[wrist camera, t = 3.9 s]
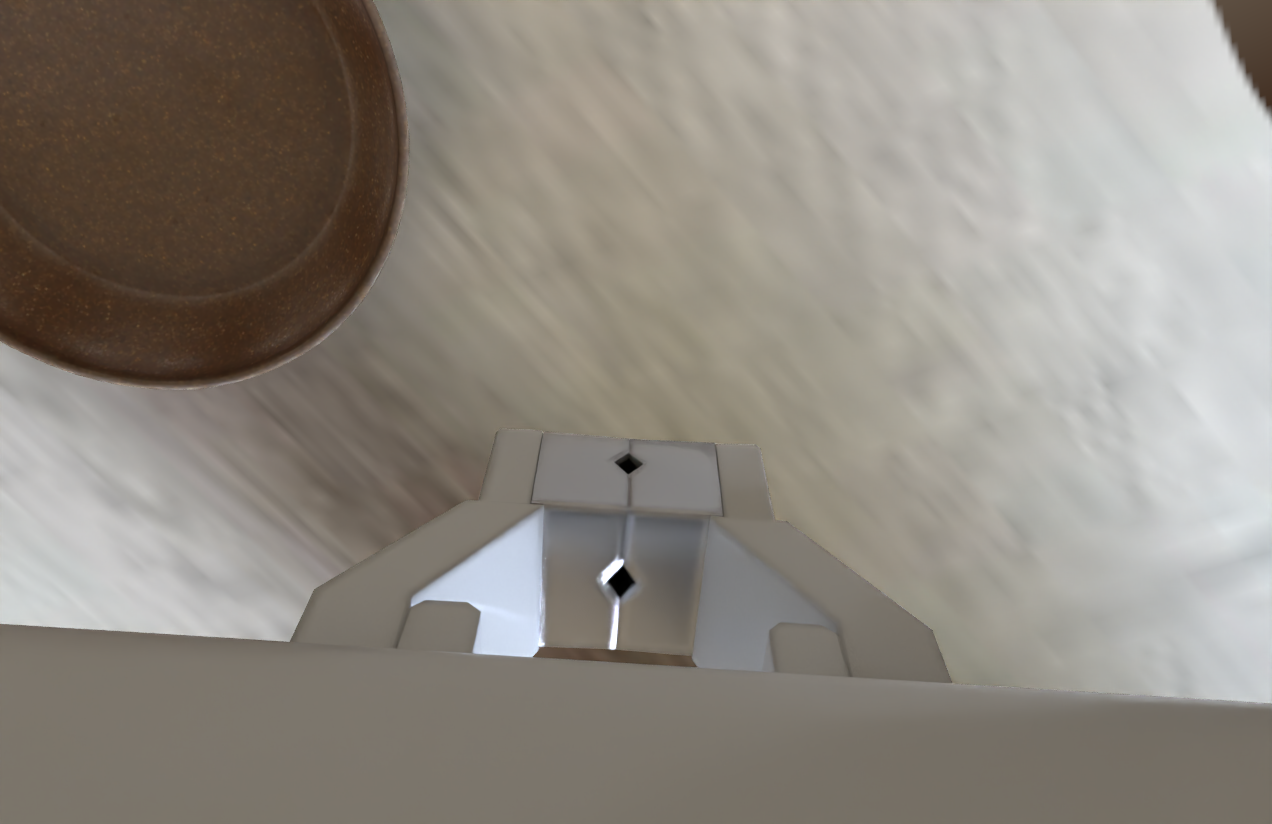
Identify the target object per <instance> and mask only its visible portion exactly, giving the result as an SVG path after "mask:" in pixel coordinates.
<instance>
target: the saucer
mask: <svg viewBox="0 0 1272 824" xmlns="http://www.w3.org/2000/svg"><path fill="white" fill-rule="evenodd" d="M408 172H409V130H408V119H407V109H406V104H405V98H404V93H403V87H402V82H401V78H400V74H399V70H398V67H397V63H396V59H395V56H394V53H393V50H392V46H391V43H390V40H389V38H388V35H387V33H386V30H385V27H384V24H383V22H382V20H381V17H380V15H379V13H378V10H377V8H376V6H375V4H374V2H373V0H0V341H1V342H3V343H5V344H6V345H8V346H10V347H11V348H14V349H16V350H18V351H20V352H22V353H24V354H27V355H29V356H31V357H33V358H35V359H37V360H40V361H42V362H44V363H46V364H49V365H51V366H54V367H57V368H60V369H62V370H65V371H67V372H70V373H73V374H76V375H80V376H83V377H87V378H91V379H95V380H98V381H103V382H108V383H113V384H118V385H125V386H132V387H140V388H149V389H166V390H187V389H204V388H209V387H216V386H221V385H226V384H231V383H236V382H240V381H243V380H246V379H249V378H252V377H255V376H259V375H261V374H264V373H266V372H268V371H271V370H273V369H275V368H277V367H280V366H282V365H284V364H286V363H288V362H290V361H291V360H293V359H295V358H297V357H299V356H300V355H302V354H304V353H306V352H307V351H308V350H310V349H312V348H313V347H315V346H316V345H318V344H319V343H321V342H322V341H323V340H324V339H325V338H327V337H328V336H329V335H330V334H331V333H332V332H333V331H335V330H336V329H337V328H338V327H339V326H340V325H341V324H342V323H343V322H344V321H345V320H346V319H347V318H348V317H349V316H350V315H351V314H352V313H353V311H354V310H355V309H356V308H357V307H358V306H359V305H360V303H361V302H362V301H363V299H364V298H365V296H366V295H367V293H368V292H369V290H370V289H371V287H372V286H373V284H374V282H375V280H376V279H377V277H378V275H379V273H380V271H381V269H382V267H383V265H384V263H385V261H386V259H387V257H388V256H389V254H390V251H391V248H392V246H393V243H394V240H395V237H396V235H397V232H398V228H399V224H400V220H401V216H402V212H403V207H404V201H405V198H406V193H407V181H408Z"/></svg>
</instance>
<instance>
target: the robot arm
mask: <svg viewBox="0 0 1272 824" xmlns="http://www.w3.org/2000/svg"><path fill="white" fill-rule="evenodd" d="M539 647H567V648H594V649H617V650H629V651H640V652H651V653H662V654H673V655H685V656H692V660H693V661H694V663H695V664H696V665H697V667H698V668H697V667H682V666H666V665H650V664H634V663H618V662H602V661H586V660H570V659H554V658H538V657H533V656H534V655H535V654H536V652H537V651H538V650H539ZM0 824H1272V703H1257V702H1242V701H1226V700H1210V699H1194V698H1178V697H1162V696H1146V695H1130V694H1114V693H1098V692H1082V691H1066V690H1050V689H1034V688H1018V687H1002V686H986V685H970V684H954V683H952V681H951V678H950V676H949V673H948V670H947V668H946V665H945V662H944V660H943V657H942V654H941V652H940V649H939V646H938V644H937V641H936V638H935V636H934V633H933V630H932V629H930V628H929V627H928V626H926V625H925V624H924V623H922V622H921V621H920V620H918V619H917V618H916V617H914V616H913V615H912V614H910V613H909V612H908V611H906V610H905V609H904V608H902V607H901V606H900V605H898V604H897V603H896V602H894V601H893V600H892V599H890V598H889V597H888V596H886V595H885V594H884V593H882V592H881V591H880V590H878V589H877V588H876V587H874V586H873V585H872V584H870V583H869V582H868V581H866V580H865V579H864V578H862V577H861V576H860V575H858V574H857V573H856V572H854V571H853V570H852V569H850V568H849V567H848V566H846V565H845V564H844V563H842V562H841V561H839V560H838V559H837V558H835V557H834V556H833V555H831V554H830V553H829V552H827V551H826V550H825V549H823V548H822V547H821V546H819V545H818V544H817V543H815V542H814V541H813V540H811V539H810V538H809V537H807V536H806V535H805V534H803V533H802V532H801V531H799V530H798V529H797V528H795V527H794V526H793V525H791V524H790V523H789V522H787V521H778V520H775V517H774V513H773V508H772V503H771V498H770V493H769V488H768V483H767V478H766V474H765V469H764V464H763V459H762V454H761V449H760V448H759V447H758V446H757V445H748V444H715V443H706V442H683V441H661V440H639V439H627V438H616V437H604V436H593V435H581V434H570V433H559V432H547V431H545V432H544V433H543V432H542V431H541V430H528V429H505V428H501V429H499V430H498V431H497V432H496V436H495V439H494V443H493V447H492V451H491V455H490V458H489V462H488V466H487V470H486V473H485V477H484V481H483V485H482V488H481V492H480V496H479V500H465V501H463V502H462V503H460V504H458V505H457V506H455V507H453V508H452V509H450V510H448V511H447V512H445V513H443V514H441V515H440V516H438V517H436V518H435V519H433V520H431V521H430V522H428V523H426V524H424V525H423V526H421V527H419V528H418V529H416V530H414V531H413V532H411V533H409V534H407V535H406V536H404V537H402V538H401V539H399V540H397V541H396V542H394V543H392V544H390V545H389V546H387V547H385V548H384V549H382V550H380V551H379V552H377V553H375V554H373V555H372V556H370V557H368V558H367V559H365V560H363V561H362V562H360V563H358V564H356V565H355V566H353V567H351V568H350V569H348V570H346V571H345V572H343V573H341V574H339V575H338V576H336V577H334V578H333V579H331V580H329V581H328V582H326V583H324V584H323V585H321V586H319V587H317V588H316V589H314V591H313V593H312V595H311V597H310V600H309V602H308V604H307V606H306V608H305V610H304V612H303V615H302V617H301V619H300V621H299V623H298V625H297V627H296V630H295V632H294V634H293V636H292V638H291V640H290V642H283V641H267V640H251V639H235V638H219V637H203V636H187V635H171V634H155V633H139V632H123V631H107V630H91V629H74V628H58V627H42V626H26V625H10V624H0Z"/></svg>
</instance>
